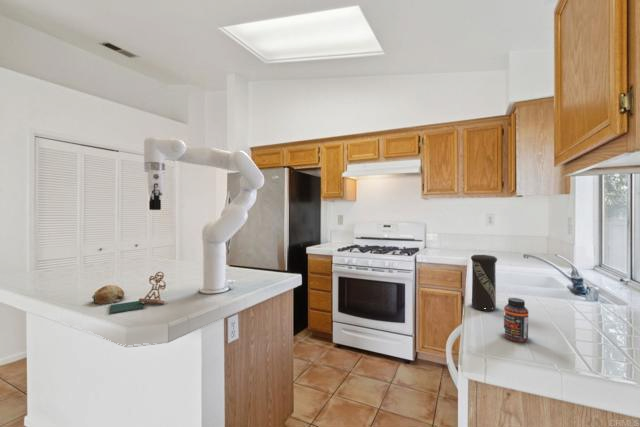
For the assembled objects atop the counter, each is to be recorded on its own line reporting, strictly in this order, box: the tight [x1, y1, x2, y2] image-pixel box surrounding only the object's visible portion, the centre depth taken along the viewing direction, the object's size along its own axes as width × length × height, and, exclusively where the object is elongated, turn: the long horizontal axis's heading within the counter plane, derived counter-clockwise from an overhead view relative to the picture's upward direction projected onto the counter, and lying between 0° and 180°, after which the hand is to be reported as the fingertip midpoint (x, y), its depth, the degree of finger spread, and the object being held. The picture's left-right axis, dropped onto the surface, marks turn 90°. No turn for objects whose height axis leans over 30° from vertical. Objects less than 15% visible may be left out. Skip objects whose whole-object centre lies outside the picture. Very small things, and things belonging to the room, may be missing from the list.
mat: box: [109, 300, 144, 315], centre depth 114 cm, size 10×10×1 cm
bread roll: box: [91, 284, 125, 305], centre depth 122 cm, size 10×10×8 cm
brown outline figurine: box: [138, 271, 167, 305], centre depth 120 cm, size 9×4×12 cm, turn 78°
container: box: [470, 254, 498, 312], centre depth 115 cm, size 9×9×20 cm
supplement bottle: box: [503, 297, 529, 343], centre depth 87 cm, size 6×6×11 cm
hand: (154, 209), depth 125 cm, fingers open, 9 cm apart
